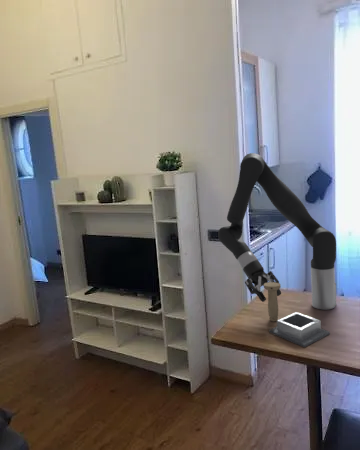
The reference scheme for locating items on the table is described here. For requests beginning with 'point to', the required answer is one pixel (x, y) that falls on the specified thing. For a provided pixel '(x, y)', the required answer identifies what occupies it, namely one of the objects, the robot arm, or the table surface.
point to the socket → (299, 329)
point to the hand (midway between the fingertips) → (272, 297)
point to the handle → (272, 299)
